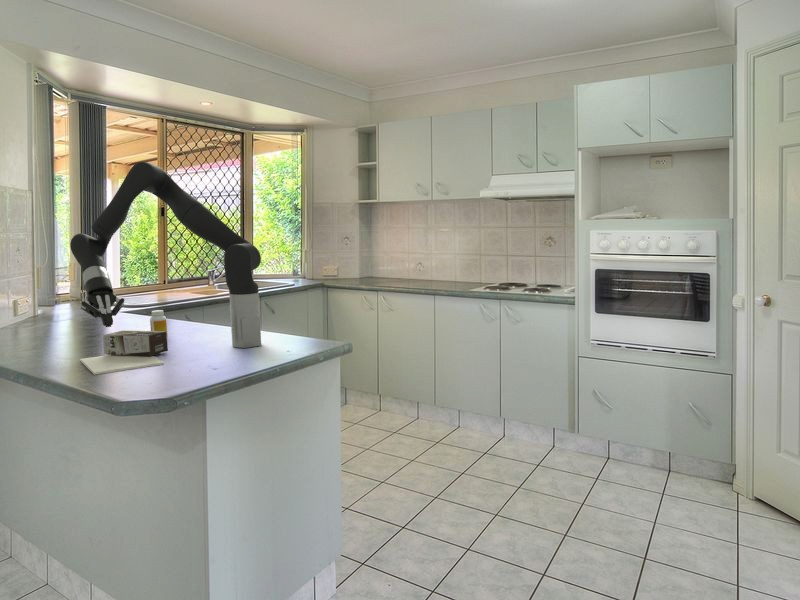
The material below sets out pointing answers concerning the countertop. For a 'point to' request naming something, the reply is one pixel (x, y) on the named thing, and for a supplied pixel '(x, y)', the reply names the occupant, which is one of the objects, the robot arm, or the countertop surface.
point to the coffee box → (135, 343)
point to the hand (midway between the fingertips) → (108, 325)
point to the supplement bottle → (158, 321)
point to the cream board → (118, 363)
